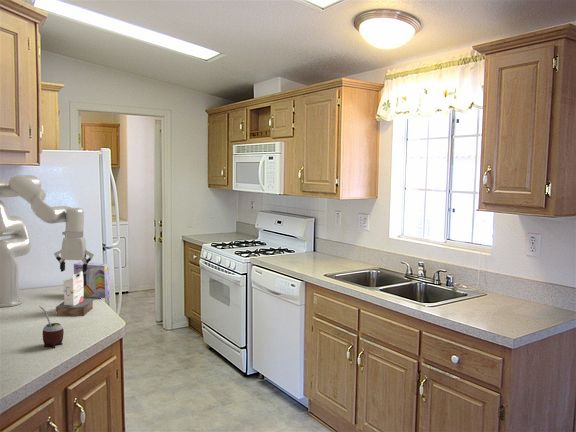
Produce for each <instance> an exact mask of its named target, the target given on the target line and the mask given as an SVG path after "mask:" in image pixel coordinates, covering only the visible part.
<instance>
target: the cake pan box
mask: <svg viewBox="0 0 576 432" xmlns="http://www.w3.org/2000/svg"><path fill="white" fill-rule="evenodd" d="M83 264H84V263H83V261H78V262H75V263H73V274H75V273H78V272H81V271H83ZM78 276H80V275H77V276H76V277H78ZM110 284H111V283H110V265H109V263H97V262H88V267H87V270H86V272H84V273H83V285H84V298H98V299H107V298H109V297H110V296H111V285H110Z"/></svg>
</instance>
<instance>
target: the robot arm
mask: <svg viewBox="0 0 576 432" xmlns="http://www.w3.org/2000/svg"><path fill="white" fill-rule="evenodd" d="M41 182H42V181H41V180H40V179H39V178H38V177H37V176H35V175H31V174H28V175H27V174H26V175H25V174H19V175H14V176H11V178H10V179H0V198H14V197H20V198H22V199H23V200H24V201H26V202H27V203H28V204H30V208H31V211H32V213H33V214H34V215H35V216H36V217H37V218H38V219H40V220H41V221H43V222H45V223H46V224H60V223H65V230H64V231H62V232H61V235H63V236H64V237H63V238H62V243H61V249H60V250H59V251H56V252H54V253H53V255H54V257H55V259H56V260H57V261H58V263H59V270H60V272H64V271H66V262H65V261H68V260H69V261H81V262H83V263H84V264H83V273H84V272H86V270H87V267H88V263H90V262H91V261H92V260H93V257H94V256H95V254H94V253H92V252H90V251H89V250H87V244H86V243H87V242H86V239H85V237H84V227H85V226H84V217H85V215H84V213H85V212H84V209H83V208H81V207H71V206H66V205H60V206H50V205H49V204H47V203H46V202H45V201H44V200H45V198H46V196H47V193H46V191H45V190H44V189H42V183H41ZM9 236H10V238H4V239H0V308H6V307H14V306H18V305H21V304H22V303H23V299H22V298H20V295H19V287H20V286H19V265H18V263H17V261H16V259H15V258H18V257H23V256H25V255H28V254H29V253H30V251H31V248H32V247H31V246H32V245H31V240H30V237H29V232H28V228H27V225H26V222H25V221H24V219H23V218H22V217H20V216H19V215H9V213H8V209H7V206H6V205H5V203H4V202H3V201H2V200H1V199H0V237H2V238H3V237H9ZM87 255H88V258H87Z"/></svg>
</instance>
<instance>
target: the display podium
mask: <svg viewBox="0 0 576 432" xmlns="http://www.w3.org/2000/svg"><path fill="white" fill-rule="evenodd" d="M93 302H94V299H84V301H83V302H81V303H79V304H77V305H75V306H67V305H64V301H62V302H61V303H59V304H58V305H56V306H55V309H56V310H55V313H56V317H57V316H58V317H59V316H61V317H62V316H63V317H65V316H66V317H69V316H70V317H73V316H74V317H84V316H85V315H87V314H88V313H89V312H90V311H91V310H92V309H93V307H94V306H93V304H94V303H93Z"/></svg>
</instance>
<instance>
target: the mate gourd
mask: <svg viewBox="0 0 576 432" xmlns="http://www.w3.org/2000/svg"><path fill="white" fill-rule="evenodd" d="M38 307H39V308H40V309H41V311H43V313H44V314H45V316H46V320H47V322H48V323H47V324H46V325H45V326H44V327H43V329H42V341H43V344H44V345H43V347H44V348H51V347H52V349H56V346H61V345H63V343H64V342H63V340H64V334H65V332H64V327H63V325H62V324H61V323H59V322H53V323H52V322H51V320H50V318H49V315H48V311H47V310H46V309H45V308H44V307H42V306H41V305H38Z"/></svg>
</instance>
